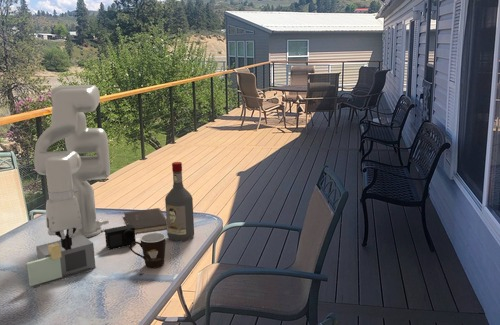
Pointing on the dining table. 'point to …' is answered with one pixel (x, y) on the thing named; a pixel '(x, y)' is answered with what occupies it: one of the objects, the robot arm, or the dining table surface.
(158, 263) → the coffee mug
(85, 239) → the box
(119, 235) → the digital camera
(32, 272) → the side door
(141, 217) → the hardcover book
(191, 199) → the liquor
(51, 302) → the dining table surface
